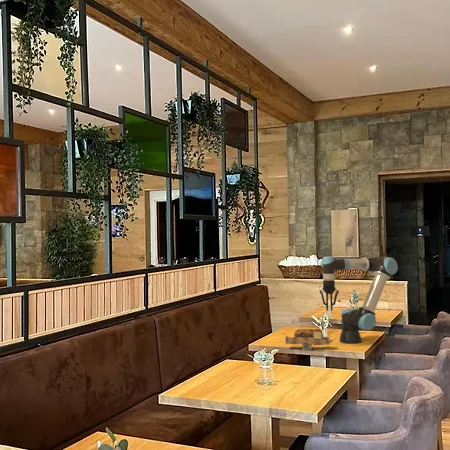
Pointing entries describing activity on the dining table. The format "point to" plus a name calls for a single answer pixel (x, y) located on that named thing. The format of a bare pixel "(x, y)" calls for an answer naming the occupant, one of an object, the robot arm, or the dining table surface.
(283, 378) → the dining table surface
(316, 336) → the block
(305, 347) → the beam
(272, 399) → the dining table surface
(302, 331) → the bread
